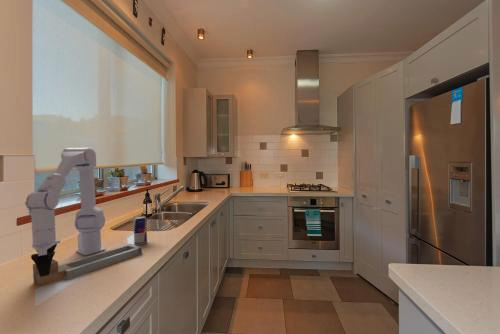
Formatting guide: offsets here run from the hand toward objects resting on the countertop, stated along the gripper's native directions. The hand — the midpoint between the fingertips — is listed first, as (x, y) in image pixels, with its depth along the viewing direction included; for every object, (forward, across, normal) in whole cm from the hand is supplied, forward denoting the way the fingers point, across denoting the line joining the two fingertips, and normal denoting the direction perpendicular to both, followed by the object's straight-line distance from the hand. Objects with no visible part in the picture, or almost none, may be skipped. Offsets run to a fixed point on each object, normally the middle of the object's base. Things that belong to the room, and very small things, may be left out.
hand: (45, 271), depth 81 cm
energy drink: (+3, +20, -32) cm, 38 cm away
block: (+3, 0, -2) cm, 4 cm away
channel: (+3, +6, -15) cm, 17 cm away
